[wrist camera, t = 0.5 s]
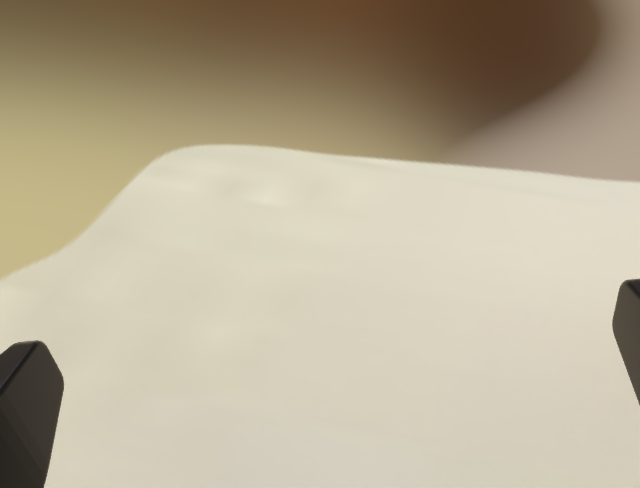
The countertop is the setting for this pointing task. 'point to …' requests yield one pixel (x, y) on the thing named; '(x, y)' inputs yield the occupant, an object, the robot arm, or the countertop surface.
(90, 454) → the countertop surface
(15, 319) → the countertop surface
